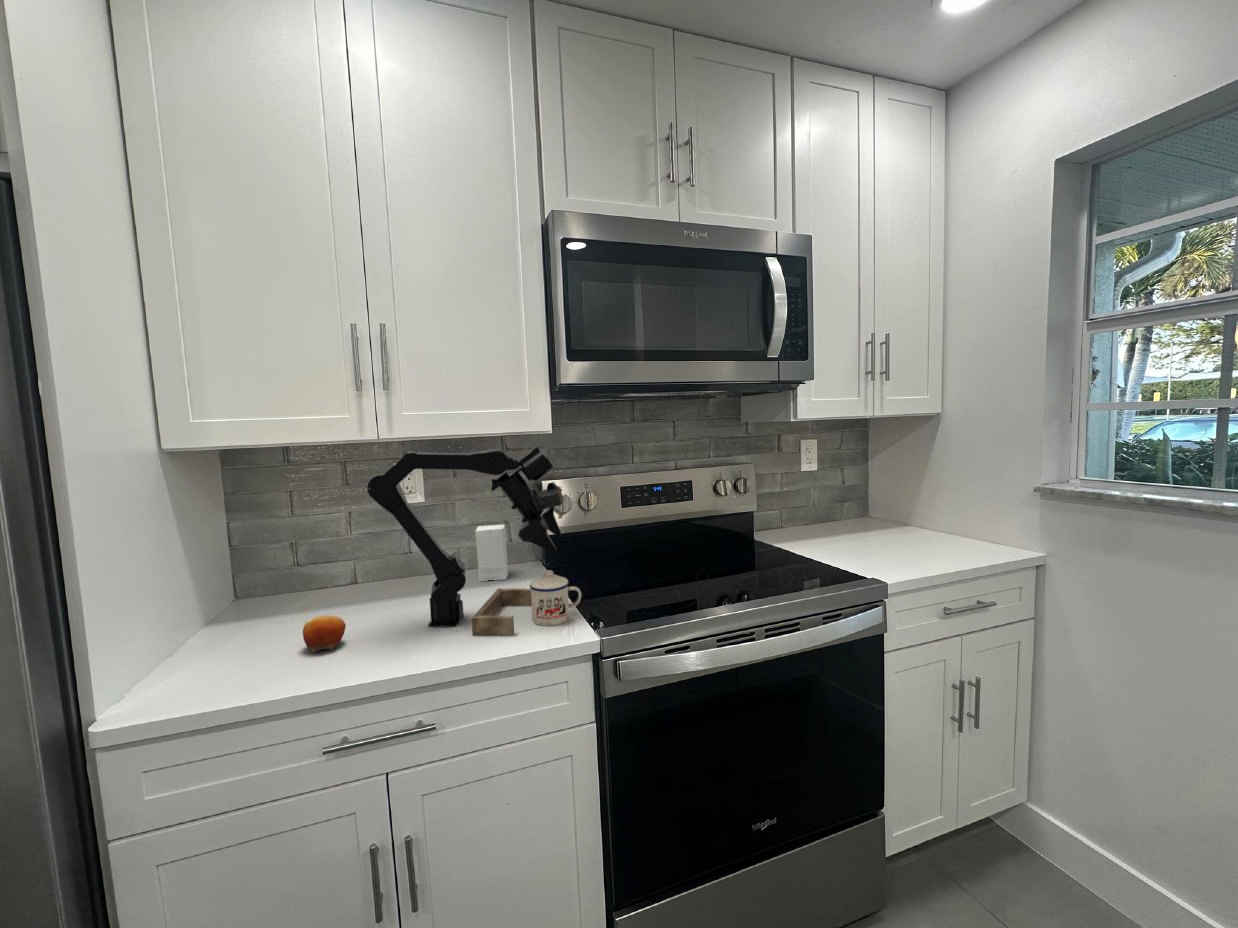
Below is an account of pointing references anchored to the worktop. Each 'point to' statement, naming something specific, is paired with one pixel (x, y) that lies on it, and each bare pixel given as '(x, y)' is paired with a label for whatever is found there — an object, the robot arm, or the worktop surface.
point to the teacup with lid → (551, 599)
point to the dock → (485, 616)
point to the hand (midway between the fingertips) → (557, 543)
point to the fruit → (323, 632)
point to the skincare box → (491, 552)
